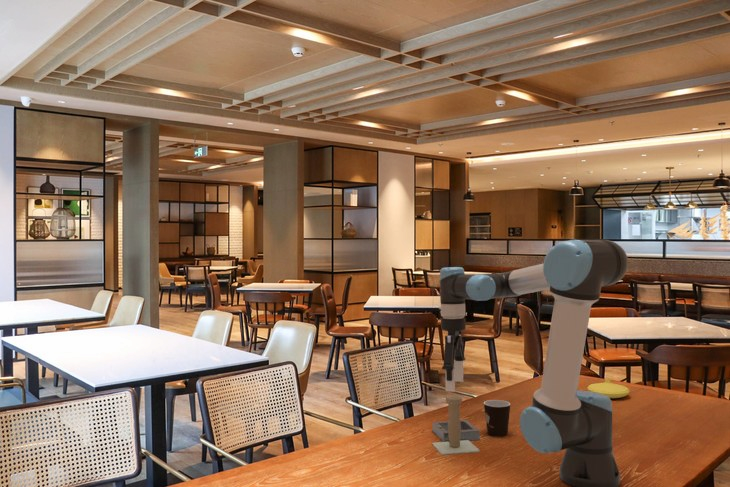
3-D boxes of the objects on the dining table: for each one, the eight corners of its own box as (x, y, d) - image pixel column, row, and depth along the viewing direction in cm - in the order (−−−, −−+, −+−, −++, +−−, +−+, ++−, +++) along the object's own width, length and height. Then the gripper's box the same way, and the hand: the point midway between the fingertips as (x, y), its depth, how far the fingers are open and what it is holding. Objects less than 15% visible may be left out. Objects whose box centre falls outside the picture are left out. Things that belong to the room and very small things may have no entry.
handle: (448, 449, 188) (447, 400, 188) (445, 442, 194) (444, 395, 194) (463, 449, 187) (462, 400, 188) (461, 442, 194) (460, 394, 194)
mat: (479, 451, 186) (479, 450, 186) (441, 455, 184) (441, 453, 184) (468, 441, 196) (468, 440, 196) (432, 444, 194) (432, 442, 194)
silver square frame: (479, 439, 198) (479, 429, 198) (443, 442, 195) (443, 432, 195) (466, 428, 209) (466, 418, 209) (432, 431, 207) (432, 421, 207)
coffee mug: (511, 438, 198) (510, 407, 198) (484, 437, 200) (483, 406, 200) (510, 427, 210) (509, 398, 210) (484, 426, 212) (484, 397, 211)
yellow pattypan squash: (632, 394, 251) (632, 377, 251) (625, 403, 238) (625, 385, 238) (592, 389, 259) (591, 373, 259) (583, 398, 246) (583, 380, 246)
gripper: (449, 312, 203) (450, 377, 203) (431, 321, 180) (433, 394, 180) (472, 313, 201) (473, 378, 201) (457, 322, 177) (459, 396, 177)
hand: (454, 386), depth 190 cm, fingers open, 13 cm apart
